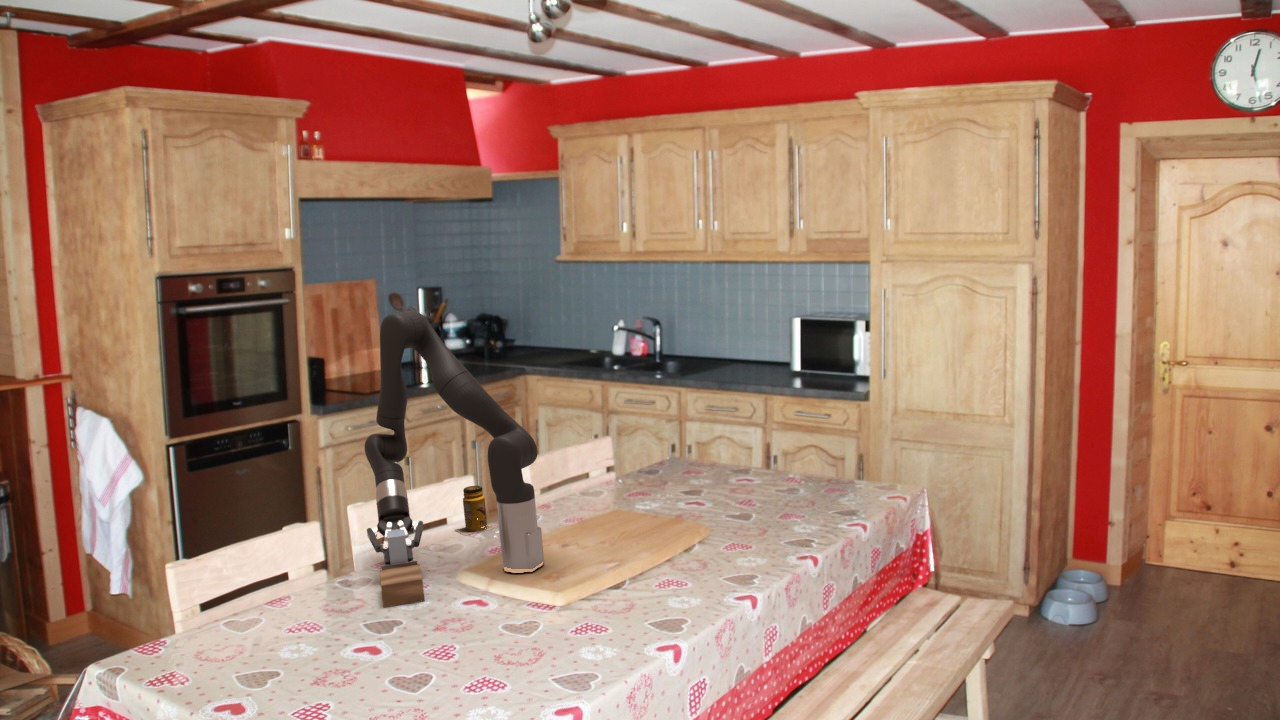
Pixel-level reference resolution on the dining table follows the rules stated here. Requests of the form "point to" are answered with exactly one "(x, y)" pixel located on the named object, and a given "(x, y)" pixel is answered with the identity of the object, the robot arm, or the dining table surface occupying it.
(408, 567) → the wooden grain block
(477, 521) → the condiment
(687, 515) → the dining table surface
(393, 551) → the tall grey pillar
